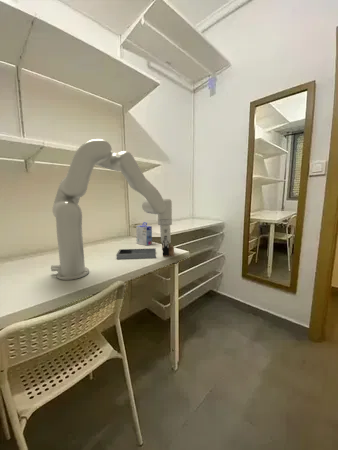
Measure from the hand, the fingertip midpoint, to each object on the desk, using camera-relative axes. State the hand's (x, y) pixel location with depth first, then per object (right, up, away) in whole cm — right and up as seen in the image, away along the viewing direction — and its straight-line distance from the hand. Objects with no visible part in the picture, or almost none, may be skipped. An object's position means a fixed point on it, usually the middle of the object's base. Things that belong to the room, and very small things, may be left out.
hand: (165, 252), depth 116 cm
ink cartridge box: (-15, +2, +25) cm, 29 cm away
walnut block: (+2, -2, 0) cm, 2 cm away
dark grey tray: (-15, -2, -1) cm, 15 cm away
